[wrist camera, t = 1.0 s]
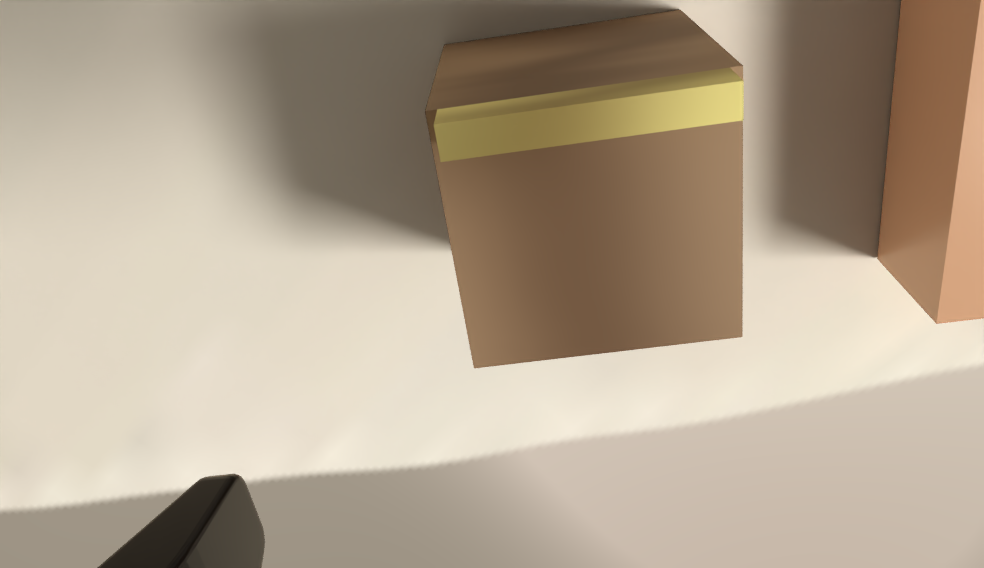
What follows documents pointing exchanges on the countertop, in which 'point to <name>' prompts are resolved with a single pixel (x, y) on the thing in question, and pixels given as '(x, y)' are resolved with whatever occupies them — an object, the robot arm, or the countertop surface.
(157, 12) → the countertop surface
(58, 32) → the countertop surface
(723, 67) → the taped cardboard box
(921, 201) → the open tan box
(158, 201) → the countertop surface
